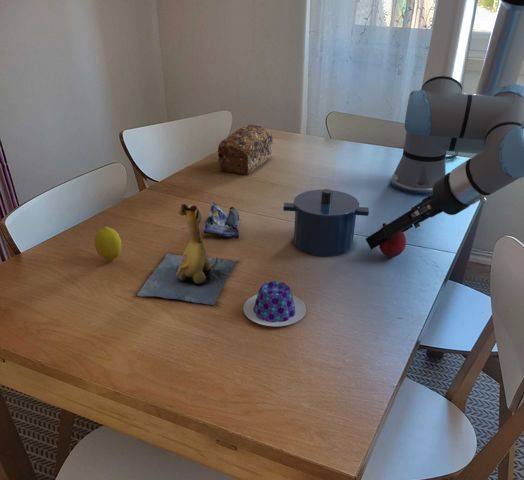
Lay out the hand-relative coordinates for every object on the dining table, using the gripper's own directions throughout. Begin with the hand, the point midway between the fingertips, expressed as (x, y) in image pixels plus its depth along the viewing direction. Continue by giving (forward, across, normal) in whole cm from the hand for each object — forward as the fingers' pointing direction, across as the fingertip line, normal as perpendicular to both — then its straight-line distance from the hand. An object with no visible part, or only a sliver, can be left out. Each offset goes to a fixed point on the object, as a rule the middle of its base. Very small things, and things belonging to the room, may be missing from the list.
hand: (379, 238), depth 122 cm
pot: (+11, -5, +6) cm, 13 cm away
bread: (+47, +17, +42) cm, 66 cm away
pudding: (+1, -34, -4) cm, 34 cm away
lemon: (+29, -47, +24) cm, 60 cm away
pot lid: (+4, -5, +12) cm, 14 cm away
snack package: (+25, -18, +20) cm, 37 cm away
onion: (0, 0, -5) cm, 5 cm away
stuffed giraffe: (+16, -39, +11) cm, 43 cm away
